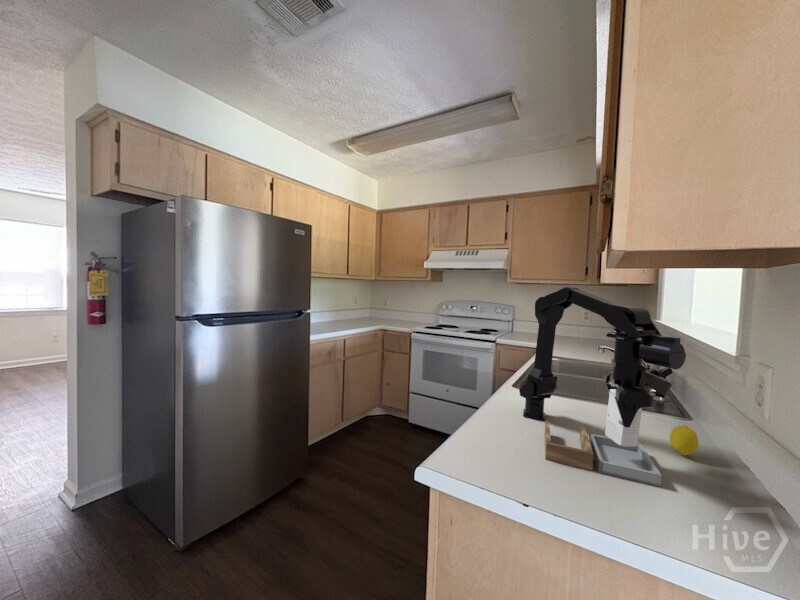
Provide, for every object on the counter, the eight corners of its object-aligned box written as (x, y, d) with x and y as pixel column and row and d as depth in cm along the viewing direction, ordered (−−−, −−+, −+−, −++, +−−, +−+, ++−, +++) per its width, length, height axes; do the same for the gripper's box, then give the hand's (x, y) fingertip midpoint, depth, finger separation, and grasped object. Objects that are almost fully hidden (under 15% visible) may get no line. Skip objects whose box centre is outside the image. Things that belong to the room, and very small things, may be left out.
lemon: (670, 447, 86) (672, 419, 86) (697, 456, 82) (700, 426, 82) (667, 454, 83) (670, 424, 82) (696, 463, 79) (699, 432, 78)
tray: (588, 442, 87) (589, 433, 87) (639, 453, 83) (640, 443, 83) (598, 472, 73) (599, 461, 73) (660, 487, 68) (661, 475, 68)
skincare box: (603, 434, 81) (607, 388, 80) (620, 435, 81) (624, 388, 80) (621, 447, 75) (625, 396, 74) (639, 447, 75) (644, 397, 74)
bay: (544, 433, 92) (545, 420, 92) (583, 441, 88) (584, 427, 88) (545, 459, 78) (546, 443, 78) (592, 470, 74) (593, 453, 74)
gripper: (686, 372, 65) (680, 446, 66) (655, 355, 82) (650, 414, 83) (622, 365, 69) (616, 434, 70) (605, 350, 87) (601, 405, 87)
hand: (622, 421), depth 78 cm, fingers closed on skincare box, 7 cm apart
